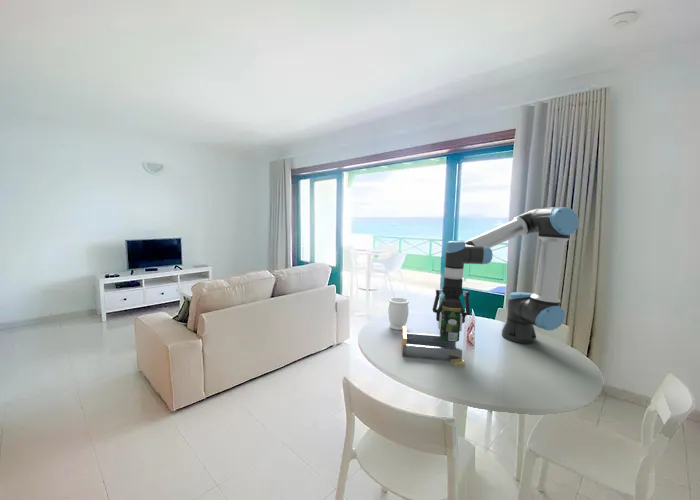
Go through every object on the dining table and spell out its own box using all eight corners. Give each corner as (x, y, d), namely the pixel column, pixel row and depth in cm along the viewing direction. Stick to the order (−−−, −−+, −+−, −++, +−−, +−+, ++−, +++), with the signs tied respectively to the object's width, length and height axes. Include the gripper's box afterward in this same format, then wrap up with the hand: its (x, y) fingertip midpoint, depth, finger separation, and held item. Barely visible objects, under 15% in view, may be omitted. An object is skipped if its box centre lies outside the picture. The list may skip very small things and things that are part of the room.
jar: (410, 326, 166) (411, 299, 164) (403, 332, 157) (404, 304, 155) (392, 322, 171) (393, 296, 170) (384, 328, 162) (385, 300, 161)
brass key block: (460, 362, 126) (460, 358, 126) (464, 365, 124) (464, 360, 124) (450, 364, 125) (450, 359, 124) (454, 367, 122) (454, 362, 122)
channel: (454, 346, 141) (455, 330, 140) (461, 361, 126) (462, 343, 125) (401, 342, 145) (402, 325, 144) (402, 356, 130) (403, 338, 129)
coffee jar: (438, 333, 139) (441, 293, 137) (456, 335, 137) (459, 294, 136) (440, 341, 129) (443, 298, 127) (460, 343, 128) (463, 300, 126)
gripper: (476, 277, 133) (472, 328, 135) (427, 274, 136) (424, 324, 138) (481, 280, 125) (476, 334, 128) (429, 277, 128) (425, 330, 131)
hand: (449, 329), depth 133 cm, fingers closed on coffee jar, 8 cm apart
